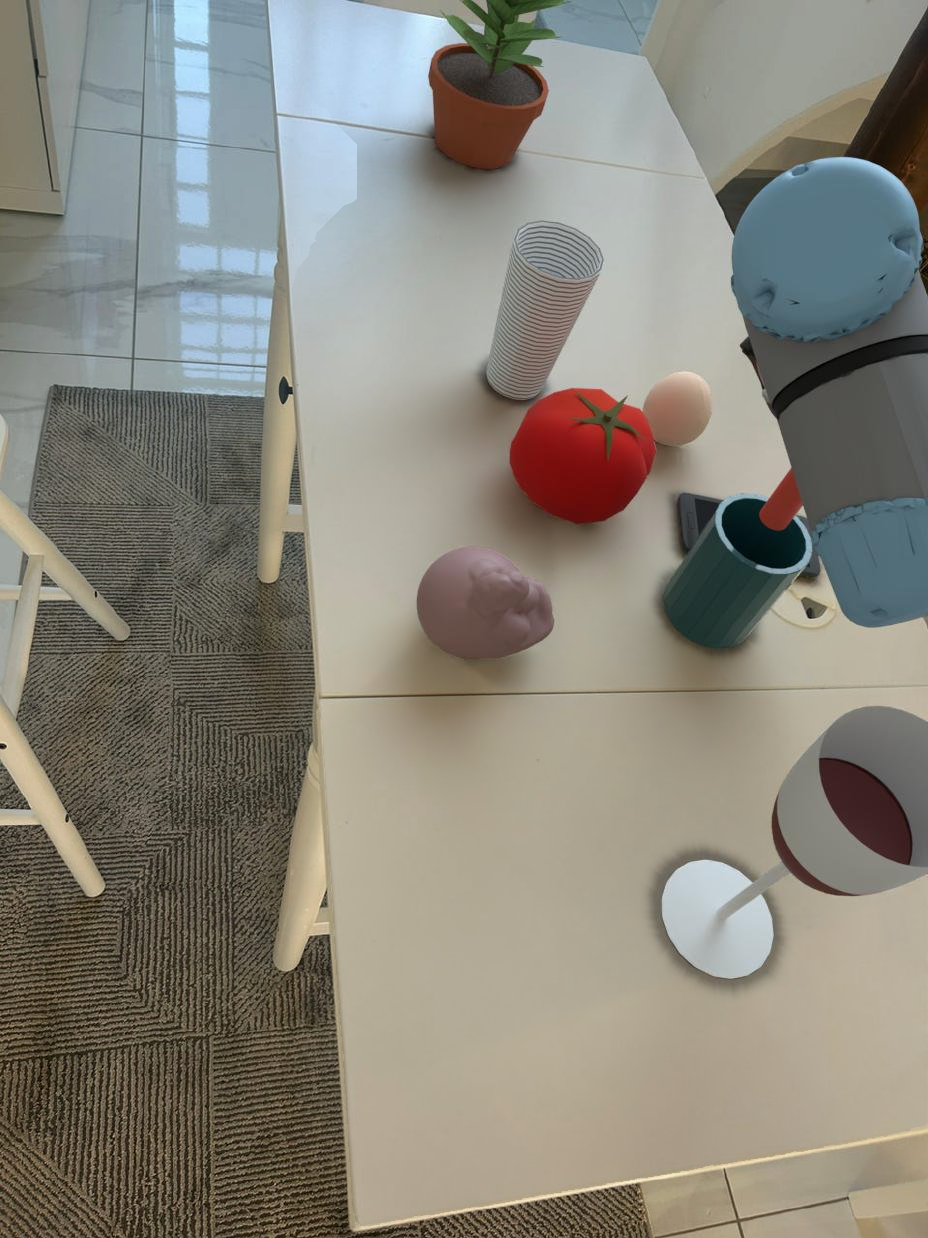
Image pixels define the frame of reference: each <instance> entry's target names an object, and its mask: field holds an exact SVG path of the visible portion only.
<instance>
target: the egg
mask: <svg viewBox="0 0 928 1238" xmlns="http://www.w3.org/2000/svg"><path fill="white" fill-rule="evenodd" d="M641 411H642V413H643V414H644V415H645V417H646V418H647V420H648V422H649V425H650V427H651V431H652V434H653V438H654V442H657V443H659V444H661V445H664V446H668V447H682V446H684V445H687V444H690V443H692V442H693V441H695V440H697V439H698V438H699V437H700V436H701V435H702V434H703V433H704V432H705V430H706V428H707V426H708V425H709V422H710V420H711V417H712V413H713V396H712V391H711V389H710V387H709V384H708V382H706V381H705V380H704V379H703V377H702V376H700V375H698V374H696V373H695V372H691V371H677V372H674V373H673V372H672V373H670V374H669V375H666V376H665V377H663V378H661V379H660V380H658V381H657V383H655V384H654V385H653V386H652V388H650V390H649V391H648V393H647V394H646V397H645V399H644V401H643V406H642V410H641Z"/></svg>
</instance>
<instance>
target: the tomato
mask: <svg viewBox="0 0 928 1238" xmlns="http://www.w3.org/2000/svg"><path fill="white" fill-rule="evenodd" d="M628 396H629V394H627V395H626V396H625V397H623V398H622V399H621V400H620V401H618V400H617V399H615V398H614V397H612V396H611V394H609V393H607V392H606V391H604V390H603V389H602V388H584V387H583V388H582V387H579V388H578V387H571V388H567V389H563V390H559V391H554V392H552V393H550V394H548V395H546V396H544V397H543V398H540V399H539V400H537V401H536V402H535V403H534V404H532V405H531V406H530V407H529V408H528V409H527V411H526V413H525V415H524V417H523V419H522V421H521V423H520V425H519V427H518V429H517V431H516V433H515V435H514V437H513V438H512V440H511V441H510V447H509V465H510V468H511V472H512V476H513V478H514V480H515V481H516V484H517V485H518V487H519V489H520V490H521V491H522V492H523V493H524V494H525V495H526V496H527V498H528V500H530V501H531V502H532V503H533V504H534V505H536V506H537V507H539V508H540V509H542V510H543V511H545V512H546V513H547V514H549V515H550V516H552V517H554V518H556V519H557V518H558V519H560V520H563V521H566V522H569V523H572V524H575V525H582V524H592V523H600V522H605V521H607V520H609V519H611V518H612V517H614V516H616V515H618V514H619V513H622V512H623V511H624V510H626V509H627V507H628V506H629V504H631V502H632V501H633V500H634V498H635V497H636V496H637V495H638V493H639V492H640V490H641V488H642V486H643V485H644V484H645V482H646V480H647V479H648V476H649V475H650V474H651V471H652V467H653V465H654V462H655V460H656V459H655V458H656V456H657V452H658V450H657V446H656V443H655V442H656V441H655V440H654V438H653V434H652V431H651V427H650V425H649V422H648V420H647V418H646V417H645V415H644V414H643V413H642V411H643V410H642V409H641V408H639V407H636V406H632V405H629V404H627V403H625V402H626V400H627V399H628Z"/></svg>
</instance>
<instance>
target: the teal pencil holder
mask: <svg viewBox="0 0 928 1238" xmlns="http://www.w3.org/2000/svg"><path fill="white" fill-rule="evenodd" d="M769 498H770V497H767V496H764V495H762V494H757V493H745V492H744V493H743V492H742V493H738V494H734V495H730V496H728V497H726V498H725V499H723V500H724V501H722V502H721V503H720V504H719V506H718V507H717V509H716V510H715V512H714V513H713V515H712V516H711V518H710V519H709V521H708V522H707V524H706V525H705V527H704V529H703V530H702V532H701V533H700V535H699V536H698V538H697V539H696V541H695V542H694V544H693V545H692V547H691V548H690V550H689V551H688V553H685V554H686V555H685V556H684V557H683V559H682V561H681V562H680V563H679V566H678V567H677V568H676V570H675V571H674V573H673V574H672V575H671V577H670V579H669V581H668V583H667V584H666V586H665V588H664V591H663V596H662V603H663V609H664V612H665V613H666V616H667V618H668V619H669V621H670V623H671V624H672V626H673V627H674V628H675V629H676V630H677V631H678V632H679V633H680V634H681V635H682V636H684V637H685V638H686V639H687V640H689V641H691V642H692V643H695V644H696V645H699V646H702V647H705V648H708V649H714V650H725V649H731V648H735V647H736V646H739V645H740V644H742V643H743V642H744V641H746V639H747V638H748V637H749V636H750V635H751V634H752V633H753V631H754V630H755V629H756V628H757V626H758V625H759V624H760V623H761V622H762V621H763V619H764V618H765V617H766V615H767V614H768V613H769V612H770V611H771V610H772V608H773V607H774V606H775V605H776V604H777V602H778V601H779V600H780V599H781V598H782V596H783V595H784V594H785V593H786V591H787V590H788V589H790V586H791V585H792V584H794V582H795V581H796V579H797V578H798V577H800V576H799V574H800V573H801V572H802V571H803V570H804V568H805V567H806V566H807V565H808V563H809V561H810V558H811V556H812V540H811V537H810V535H809V533H808V530H807V528H806V527H805V526H804V524H803V523H802V522H801V521H800V519H799V518H798V517H797V516H796V515H797V514H796V515H795V516H794V518H793V519H792V520H791V522H790V523H789V524H788V526H787V527H786V528H785V529H783V530H779V531H778V530H773V529H770V528H768V527H767V526H766V525H764V524H763V522H762V521H761V519H760V516H759V513H760V510H761V509H762V508H763V506H764V505H765V503H766V502H767V501H768V499H769Z"/></svg>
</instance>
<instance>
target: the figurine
mask: <svg viewBox="0 0 928 1238" xmlns="http://www.w3.org/2000/svg"><path fill="white" fill-rule="evenodd" d="M416 613H417V618H418V621H419V624H420V627H421V628H422V630H423V632H424V633H425V635H426V637H427V638H428V639H429V640H430V641H431V643H432V644H433V645H434V646H436V647H437V648H438V649H439V650H441V651H442V652H444V653H446V654H448V655H450V656H452V657H455V658H458V659H463V660H469V661H471V660H472V661H477V660H487V659H488V660H489V659H493V660H499V659H503V658H505V657H508V656H512V655H514V654H518V653H520V652H523V651H525V650H527V649H529V648H532V647H534V646H535V645H537V644H539V643H540V642H542V641H544V640H545V639H546V638H548V636H550V634H551V633H552V631H553V629H554V627H555V618H554V614H553V604H552V599H551V596H550V594H549V592H548V590H547V588H546V587H545V586H544V585H543V583H542V582H540V580H537V579H535V578H532V577H530V576H526V575H524V574H523V573H522V572H521V570H520V569H519V568H518V566H517V565H516V564H515V563H514V562H513V561H512V560H511V559H509V558H508V557H507V556H505V555H503V554H502V553H500V552H499V551H496V550H494V549H491V548H489V547H483V546H474V545H473V546H462V547H459V548H456V549H452V550H450V551H448V552H446V553H443V555H441V556H440V557H438V558H437V559H436V560H435V561H433V562H432V564H430V565H429V567H428V568H427V569H426V570H425V572H424V574H423V575H422V578H421V580H420V582H419V584H418V589H417V594H416Z"/></svg>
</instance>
